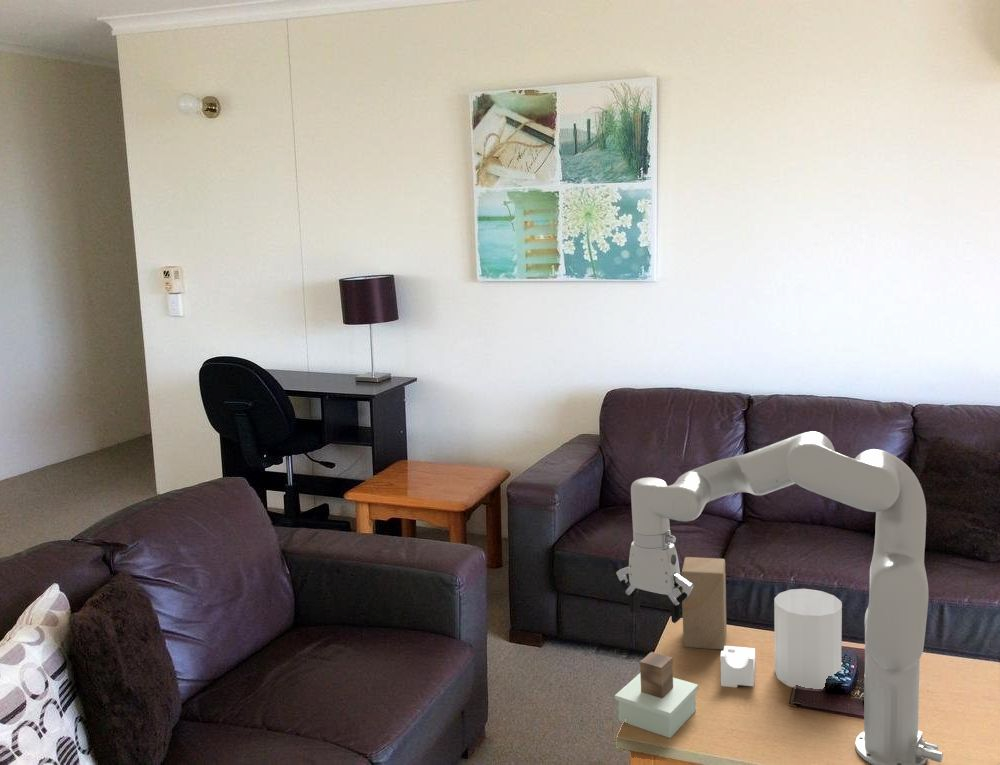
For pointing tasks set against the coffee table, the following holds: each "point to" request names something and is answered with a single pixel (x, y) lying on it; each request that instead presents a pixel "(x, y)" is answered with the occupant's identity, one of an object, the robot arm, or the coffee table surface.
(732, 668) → the bracket
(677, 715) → the sage box
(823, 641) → the container
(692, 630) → the wooden block
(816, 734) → the coffee table surface
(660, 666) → the walnut block
